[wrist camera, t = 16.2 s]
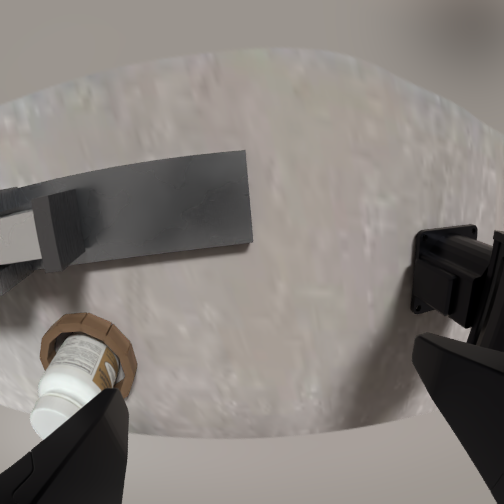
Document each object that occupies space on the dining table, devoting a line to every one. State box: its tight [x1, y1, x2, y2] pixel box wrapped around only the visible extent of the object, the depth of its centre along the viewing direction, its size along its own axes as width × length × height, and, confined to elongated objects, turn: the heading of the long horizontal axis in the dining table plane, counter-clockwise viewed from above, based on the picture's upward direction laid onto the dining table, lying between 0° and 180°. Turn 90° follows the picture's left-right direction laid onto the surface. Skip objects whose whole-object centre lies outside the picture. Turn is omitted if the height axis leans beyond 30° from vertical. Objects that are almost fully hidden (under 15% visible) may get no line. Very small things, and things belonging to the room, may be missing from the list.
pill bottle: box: [30, 332, 119, 440], centre depth 16 cm, size 4×4×8 cm
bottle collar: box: [40, 313, 137, 399], centre depth 19 cm, size 7×7×2 cm
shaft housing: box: [0, 150, 253, 295], centre depth 15 cm, size 24×5×5 cm, turn 95°
